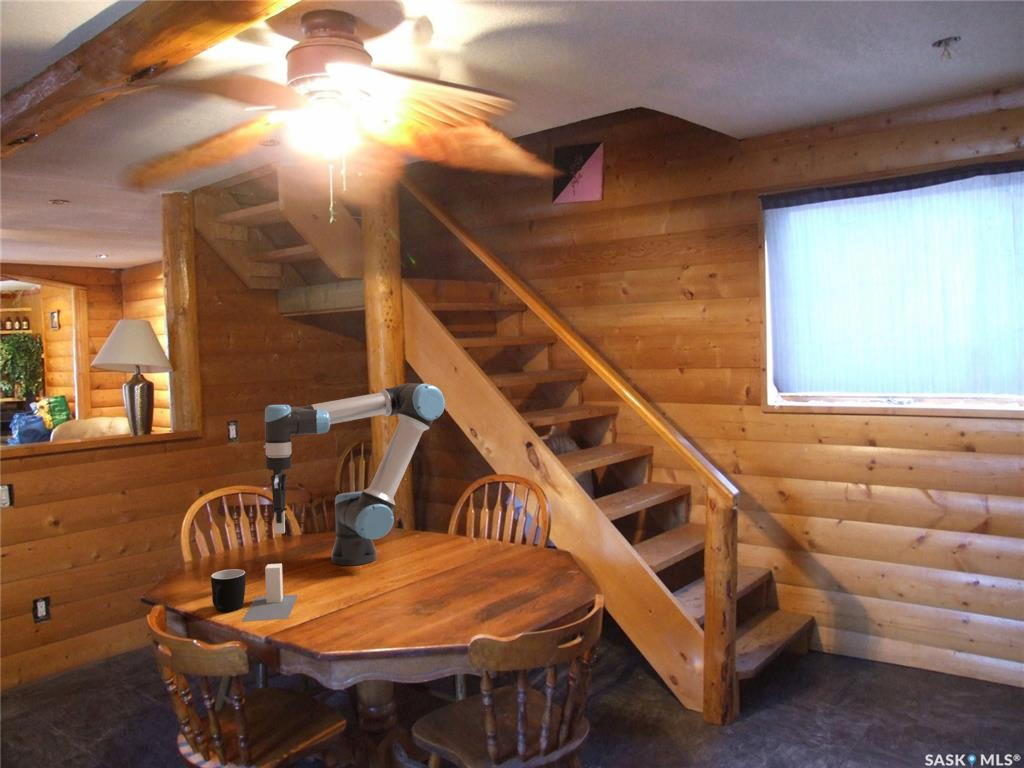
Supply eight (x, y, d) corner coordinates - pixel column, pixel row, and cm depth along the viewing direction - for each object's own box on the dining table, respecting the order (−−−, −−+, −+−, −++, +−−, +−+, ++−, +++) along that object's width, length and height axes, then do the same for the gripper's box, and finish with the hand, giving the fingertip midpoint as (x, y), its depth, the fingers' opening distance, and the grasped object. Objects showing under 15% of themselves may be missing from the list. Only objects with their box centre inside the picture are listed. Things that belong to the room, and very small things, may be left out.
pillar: (283, 597, 225) (282, 563, 224) (280, 602, 221) (279, 567, 220) (268, 598, 224) (267, 564, 224) (266, 603, 220) (265, 568, 219)
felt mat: (298, 595, 227) (298, 594, 227) (288, 620, 207) (288, 618, 207) (255, 598, 225) (255, 597, 225) (241, 622, 206) (241, 621, 206)
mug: (223, 603, 221) (222, 568, 221) (252, 605, 220) (251, 569, 219) (199, 618, 210) (197, 581, 209) (229, 620, 208) (228, 582, 207)
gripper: (269, 453, 241) (270, 528, 242) (261, 459, 228) (263, 538, 230) (294, 452, 242) (295, 527, 243) (288, 458, 229) (289, 537, 231)
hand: (280, 532), depth 237 cm, fingers closed
